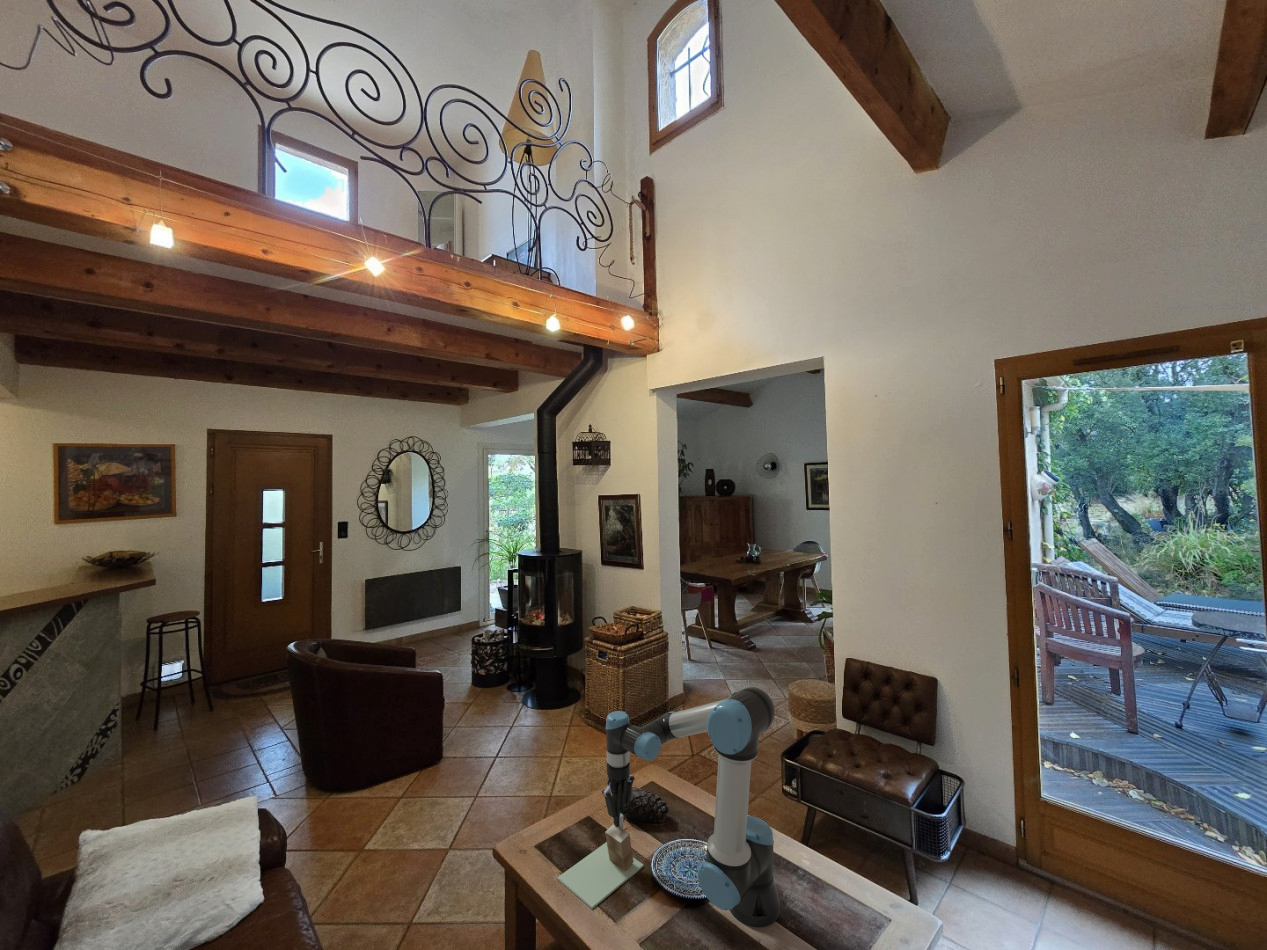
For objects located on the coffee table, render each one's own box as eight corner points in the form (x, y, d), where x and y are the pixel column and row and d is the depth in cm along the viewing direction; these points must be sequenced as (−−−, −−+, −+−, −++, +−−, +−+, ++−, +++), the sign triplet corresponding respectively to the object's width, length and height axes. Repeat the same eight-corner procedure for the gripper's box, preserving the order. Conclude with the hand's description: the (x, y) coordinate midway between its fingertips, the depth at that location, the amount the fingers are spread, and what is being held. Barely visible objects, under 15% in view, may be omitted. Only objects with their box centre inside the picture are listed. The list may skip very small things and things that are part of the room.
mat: (643, 866, 160) (643, 864, 160) (591, 909, 144) (591, 907, 144) (608, 842, 171) (608, 840, 171) (557, 879, 155) (557, 877, 155)
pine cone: (668, 828, 178) (668, 800, 178) (618, 824, 180) (618, 796, 180) (670, 809, 188) (670, 782, 188) (623, 805, 190) (623, 779, 191)
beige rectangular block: (633, 862, 160) (629, 833, 159) (625, 871, 157) (620, 842, 156) (618, 851, 165) (613, 823, 164) (609, 860, 162) (605, 832, 161)
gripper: (624, 749, 171) (625, 818, 171) (595, 765, 162) (596, 838, 162) (640, 757, 166) (641, 829, 166) (611, 775, 157) (613, 850, 157)
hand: (619, 833), depth 164 cm, fingers closed
